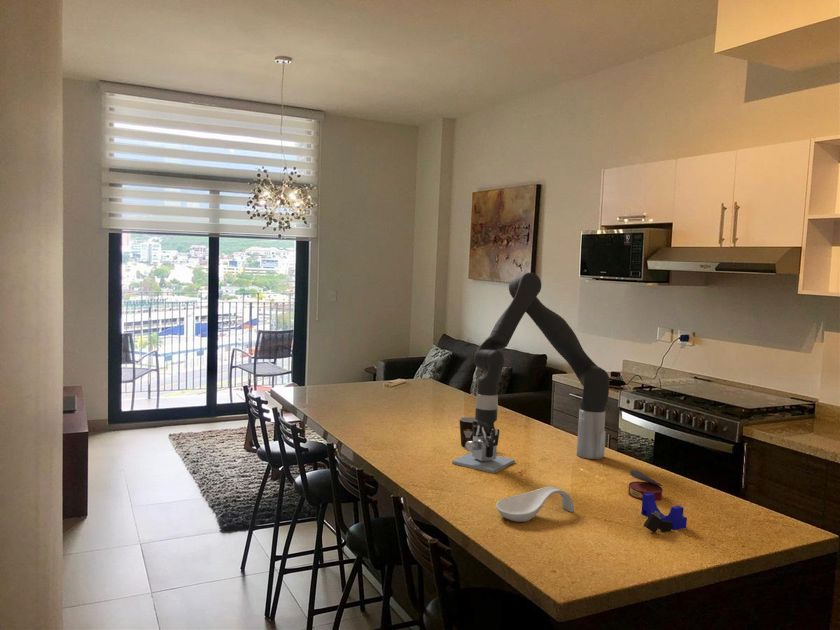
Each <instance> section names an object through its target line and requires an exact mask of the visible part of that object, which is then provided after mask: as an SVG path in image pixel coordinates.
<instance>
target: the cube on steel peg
mask: <svg viewBox="0 0 840 630" xmlns="http://www.w3.org/2000/svg"><path fill="white" fill-rule="evenodd" d="M489 437H491V436H489ZM494 442H495V440H494ZM489 443H490V440H489ZM497 446H498V445H497ZM497 446H494V447H493V456H492V457H490V458H488V457H486V453H487V440H485V439H484V436H477V435H476V436H473V441H469V442H466V444H465V447H464V448H465V450H466V452H472V456H473V457H475V458H476V459H478V460H480V461H486V460H494V459H496V456H497V449H498V448H497Z"/></svg>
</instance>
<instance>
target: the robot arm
mask: <svg viewBox="0 0 840 630" xmlns="http://www.w3.org/2000/svg"><path fill="white" fill-rule="evenodd" d="M541 290H542V281H541V279H540V277H539V276H538V275H537V274H536V273H534V272H526V273H523V274H521V275H518V276H517V277H515V278H513V279H512V280H511V281H510V282H509V283H508V291H509V294H510V296H511V297H512V301H511V302H510V304H509V305H508V307H507V308H506V309H505V311H504V312H503V313H502V314H501V315H500V316H499V318H498V319H497V321H496V323H495V325H494V326H493V329H492V330H491V333H490V334H489V336H488V337H486V339H485V340H483V342H482V343H481V344H480V345H479V346H478V348H477V349H476V351H475V352H474V356H473V364H474V365H475V366H476V367H477V368H479V369H483V370H487V374H486V375H481V376H479V377H478V379H477V386H476V387H477V388H476V398H475V409H474V410H475V411H474V415H475V416H474V417H475V419H476V420H477V421H473V422H472V428H473V436H476V435H477V436H484V439H485V440H487V453H486V457H488V458H490V457H492V456H493V447H494V446H498V444H499V439H500V437H499V436H500V429H496V428H495V422H496V421H497V420H498V407H499V401H498V400H499V399H498V398H499V397H498V395H499V394H498V393H499V392H498V389H499V381H500V378H501V375H502V372H503V369H504V366H505V356H504V354H503V353H502V352H501V351H500V350H502V349H503V350H504V349H506V348H507V346H508V345H509V343H510V341H511V339H512V337H513V335H514V333H515V331H516V329H517V328H518V325H519V324H520V322H521V320H522V318H523V317H524V315H525V314H527V315H528V316H529V317H530V319H531V320H532V321H533V323H535V325H536V326H537V327H538V329H539V331H541V332H542V334H543V336H544V337H545V338H546V340H547V341H548V343H549V344H550V345H551V346H552V348H554V349H555V351H556V352H557V353H558V354H559V355H560V356H561V357H562V358H563V359H564V360H565V362H567V363H568V365H569V366H570V368H571V369H572V371H573V372H574V375H576V377H577V379H578V380H579V382H580V384H581V386H583V388H582V397H581V399H580V401H579V411H578V425H577V442H576V443H577V444H576V455H577V457H579V458H583V459H589V460H597V461H598V460H601V459H603V457H605V452H606V451H605V449H606V447H605V446H606V433H607V431H606V430H605V425H606V424H605V419H606V408H607V405H608V401H609V392H610V391H609V390H610V376H609V374H608V372H607V371H606V370H605V369H604V368H602V367H600V366H598V365H597V364H596V363H595V362H594V360H592V358H590V356H589V355H588V354H587V353H586V352H585V350H584V349H583V347H582V345H581V342H580V340H579V338H578V336H577V335H576V333H575V332H574V330H573V329H572V327H571V326H570V325H569V323H568V322H567V321H566V320H565V318H564V317H562V316H561V315H559V314H558V313H556V312H555V311H553V310H552V309H550V308H549V307H547V306H546V305H544V304H543V303H542V301H540V299H539V298H538V295H539V294H540V292H541ZM476 431H477V432H476ZM489 436H491V437H489ZM489 440H490V443H489ZM494 440H495V442H494Z"/></svg>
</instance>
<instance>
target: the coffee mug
mask: <svg viewBox="0 0 840 630" xmlns="http://www.w3.org/2000/svg"><path fill="white" fill-rule="evenodd" d="M458 419H459V431H460V432H459V433H460V444H461V446H462V447H463V448H466V447H465V444H466V442H469V441H473V428H472V422H473V421H477V420H476V419H475V416H464V417H460V418H458ZM476 432H477V431H476Z"/></svg>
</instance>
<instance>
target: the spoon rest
mask: <svg viewBox="0 0 840 630" xmlns="http://www.w3.org/2000/svg"><path fill="white" fill-rule="evenodd" d="M554 494H559V495H560V496H561V508H563V509H564V510H566V511H568V512H571V513H573V512H574V511H575V506H574V502H573V499H572V497H571V495H569V494H568V493H567V492H566V491H565V490H562V489H560V488H559V487H555V486H544V487H541V488H538V489H533V490H532V491H528V492H524V493H520V494H516V495H513V496H507V497H504V498H500V499H499V500H498V501H497V502H496V504H495V508H496V510H497V511H498V513H499V514H500V515H501V516H502V517H503V518H505V519H507V520H509V521H512V522H517V523H518V522H519V523H524V522H529V521H530V520H531V519H533V518H535V516H537V514H538V513H539V512H540V510H541V509H542V508H543V506H544V504H545V503H546V501H547V500H548V499H549V498H550V497H551V496H552V495H554Z"/></svg>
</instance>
